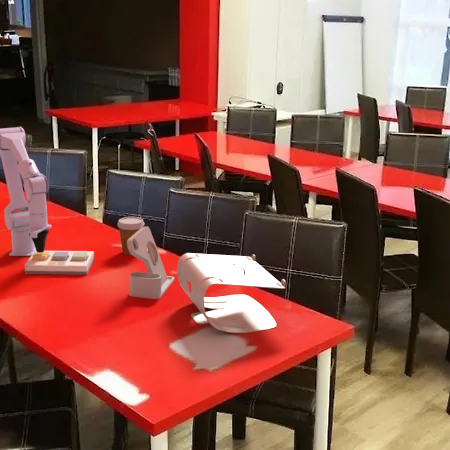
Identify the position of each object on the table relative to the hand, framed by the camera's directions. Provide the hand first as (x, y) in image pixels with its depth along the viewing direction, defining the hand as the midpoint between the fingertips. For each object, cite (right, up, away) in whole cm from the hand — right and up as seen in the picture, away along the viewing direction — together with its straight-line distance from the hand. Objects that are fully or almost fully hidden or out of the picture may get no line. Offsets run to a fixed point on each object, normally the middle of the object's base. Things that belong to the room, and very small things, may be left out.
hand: (40, 251), depth 216 cm
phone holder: (+39, -11, -13) cm, 42 cm away
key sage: (+13, -3, +1) cm, 13 cm away
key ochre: (0, -3, +1) cm, 3 cm away
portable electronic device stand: (+63, -17, -31) cm, 72 cm away
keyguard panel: (+6, -5, +2) cm, 8 cm away
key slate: (+6, -3, +1) cm, 7 cm away
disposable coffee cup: (+28, -1, +17) cm, 33 cm away
